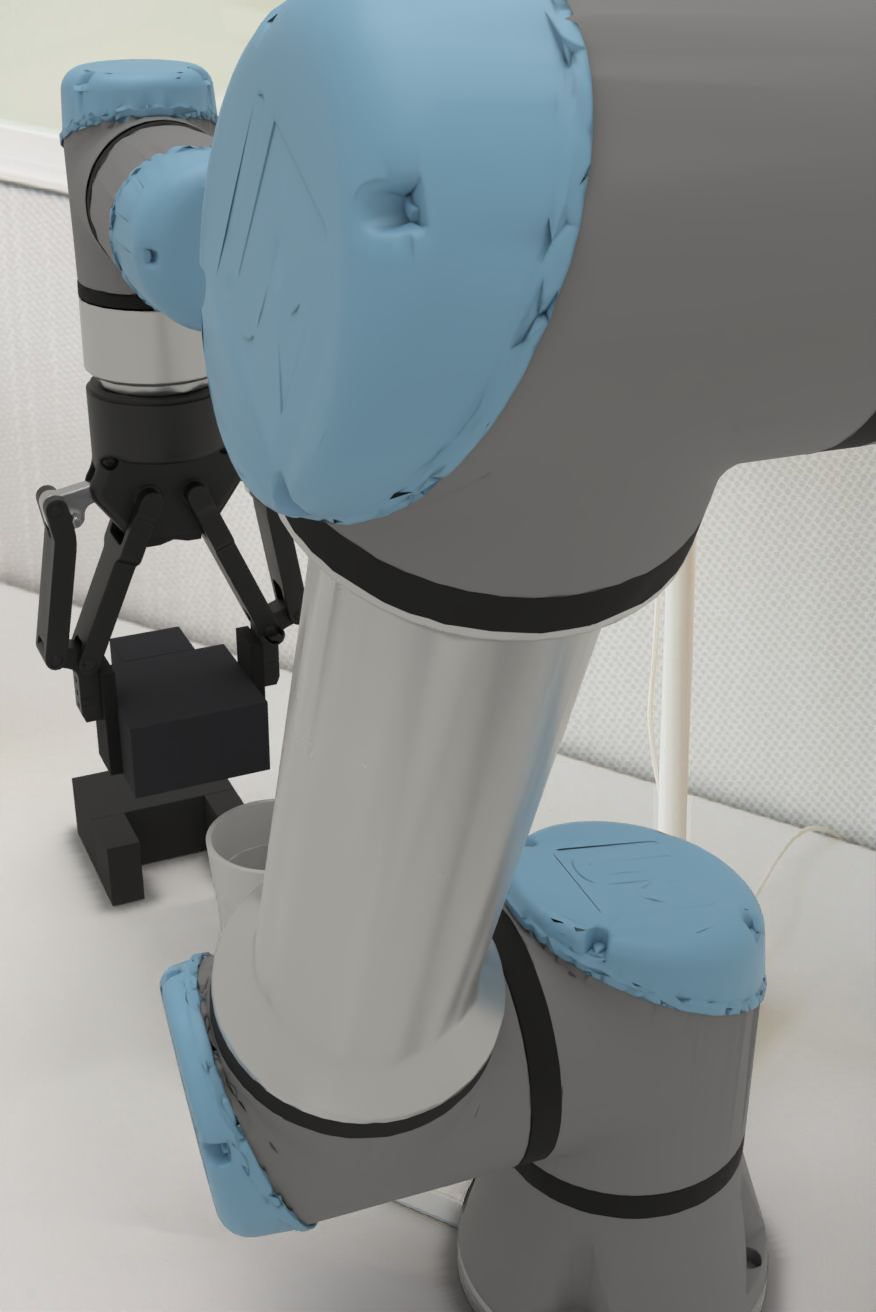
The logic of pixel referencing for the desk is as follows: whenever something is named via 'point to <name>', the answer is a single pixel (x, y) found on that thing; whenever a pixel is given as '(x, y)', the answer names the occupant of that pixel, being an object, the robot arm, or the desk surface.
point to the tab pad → (185, 713)
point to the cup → (238, 853)
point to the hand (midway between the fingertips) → (183, 747)
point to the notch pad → (142, 827)
